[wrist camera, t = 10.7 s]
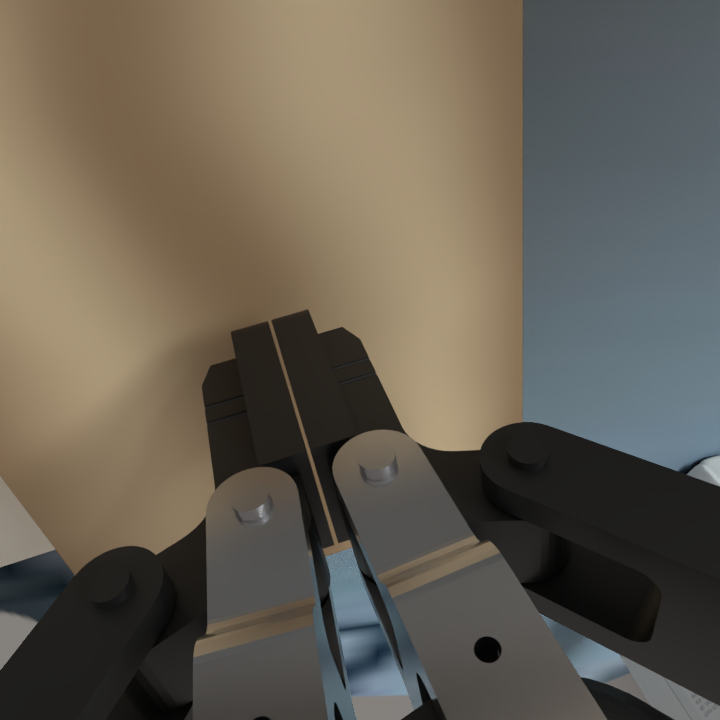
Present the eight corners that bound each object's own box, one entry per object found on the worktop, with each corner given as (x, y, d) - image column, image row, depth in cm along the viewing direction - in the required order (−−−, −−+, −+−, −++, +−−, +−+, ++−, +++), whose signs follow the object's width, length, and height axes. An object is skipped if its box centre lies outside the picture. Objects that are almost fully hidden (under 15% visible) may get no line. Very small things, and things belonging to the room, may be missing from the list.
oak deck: (424, -213, 12) (523, -238, 9) (468, 403, 22) (522, 489, 19) (-254, -79, 11) (-403, -58, 8) (116, 515, 21) (114, 627, 18)
